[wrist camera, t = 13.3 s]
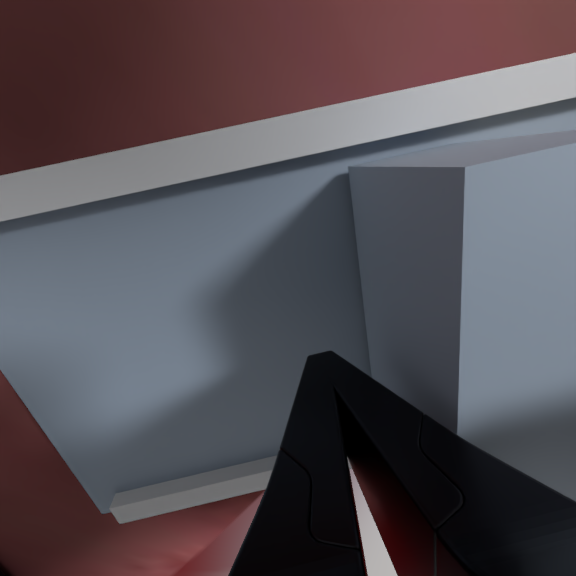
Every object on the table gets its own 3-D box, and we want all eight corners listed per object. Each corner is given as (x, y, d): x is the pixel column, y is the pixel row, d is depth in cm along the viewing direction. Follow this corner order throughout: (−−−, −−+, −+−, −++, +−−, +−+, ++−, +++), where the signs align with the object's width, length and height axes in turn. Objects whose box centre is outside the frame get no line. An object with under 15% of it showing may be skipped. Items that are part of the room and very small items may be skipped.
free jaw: (461, 408, 12) (586, 556, 8) (377, 429, 12) (452, 589, 8) (470, 139, 8) (734, 108, 4) (348, 166, 8) (464, 166, 4)
